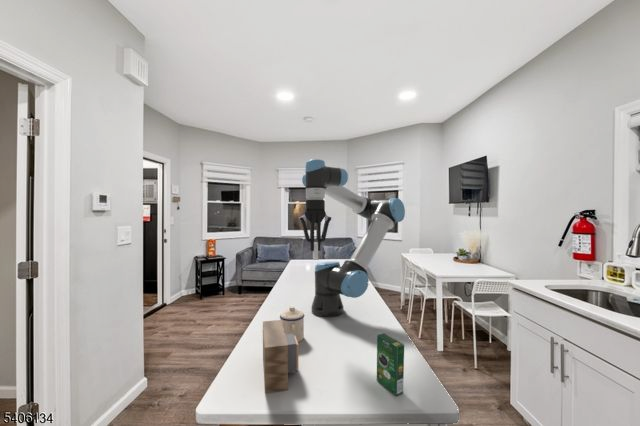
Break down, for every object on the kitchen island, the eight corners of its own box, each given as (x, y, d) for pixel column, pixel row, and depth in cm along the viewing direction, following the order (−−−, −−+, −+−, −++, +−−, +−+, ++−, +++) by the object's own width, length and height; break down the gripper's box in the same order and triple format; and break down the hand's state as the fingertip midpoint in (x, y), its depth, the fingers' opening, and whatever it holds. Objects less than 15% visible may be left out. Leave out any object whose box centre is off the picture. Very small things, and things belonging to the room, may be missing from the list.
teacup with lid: (279, 333, 111) (279, 303, 111) (302, 332, 112) (302, 302, 112) (280, 348, 99) (280, 315, 99) (306, 346, 101) (306, 313, 101)
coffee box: (405, 393, 75) (405, 343, 75) (396, 397, 73) (397, 346, 73) (384, 378, 82) (384, 332, 82) (376, 380, 80) (376, 334, 80)
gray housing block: (295, 358, 89) (295, 333, 89) (298, 371, 83) (298, 343, 82) (267, 362, 87) (267, 336, 87) (268, 375, 81) (268, 346, 81)
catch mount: (281, 356, 94) (281, 319, 94) (287, 390, 76) (287, 345, 76) (262, 358, 93) (262, 321, 92) (265, 393, 75) (264, 347, 75)
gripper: (300, 199, 108) (300, 261, 108) (333, 199, 111) (333, 260, 111) (297, 199, 115) (297, 258, 116) (328, 199, 118) (328, 256, 119)
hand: (315, 259), depth 114 cm, fingers closed
